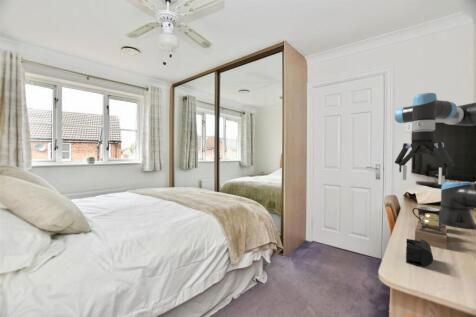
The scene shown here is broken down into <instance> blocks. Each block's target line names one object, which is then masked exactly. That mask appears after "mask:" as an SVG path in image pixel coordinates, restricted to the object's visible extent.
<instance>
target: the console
mask: <svg viewBox="0 0 476 317" xmlns="http://www.w3.org/2000/svg"><path fill="white" fill-rule="evenodd" d="M423 223H424V220H422V221H419V219H418V221H417V224H416V227H415V231H414V240H416V241H420V239H422V240H425V241H426V242H427V243H428V244H429V245H430V247H434V248H438V249H439V248H440V249H444V250H447V246H448V245H447V244H448V242H447V240H448V236H447V235H448V233H447V225H445V224H442V223H440V222H439V227H429V226H425V225H424V224H423Z"/></svg>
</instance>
